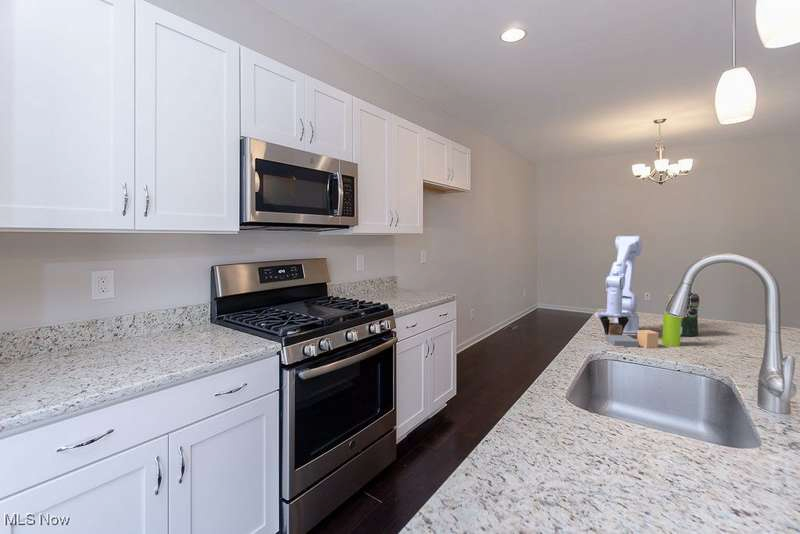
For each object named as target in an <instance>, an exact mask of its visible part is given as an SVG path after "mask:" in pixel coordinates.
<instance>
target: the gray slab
mask: <svg viewBox="0 0 800 534" xmlns="http://www.w3.org/2000/svg"><path fill="white" fill-rule="evenodd" d="M604 341H605V342H606V341H607V342H608V343H607V342H606V343H607V344H609V343H610V344H612V345H613V346H624V347H623V348H628V347H640V346H639V341H637V339H636V338H634V337H632V336H630V335H627V334H624V335H623V334H622V335H605V334H604ZM610 344H609V345H610ZM612 345H611V346H612ZM613 346H612V347H613Z"/></svg>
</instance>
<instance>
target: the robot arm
mask: <svg viewBox="0 0 800 534" xmlns="http://www.w3.org/2000/svg"><path fill="white" fill-rule="evenodd" d="M614 246H615V249H616V252H617V255H616V256H617V258H616V261H614V262H613V263H612V266H611V270H610V272H609V275H607V276H606V278H605V288H606V289H605V290H606V293H607V295H606V296H607V297H606V311H601V312H599V311H598V312H595V315H594V316H595V318H599V320H600V321H601V324H602V326H603V330H604V331H603V332H604V335H605V334H608V333H609V323H611V319H610V318H612V319H613V323H619V324H621V325H622V334H638V330H640V329H639V328H640V327H639V325H640V323H639V322H640V318H639V314H638V313H637V308H638V297H637V295H636V294H635V293H633V292H632V285H633V279H634V278H633V277H634V267H635V261H636V258H637V257H639V256H640V255H641V253H642V248H643V247H642V246H643V239H642V236H641V235H627V236H626V235H617V236H616V237H615V243H614Z"/></svg>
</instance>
